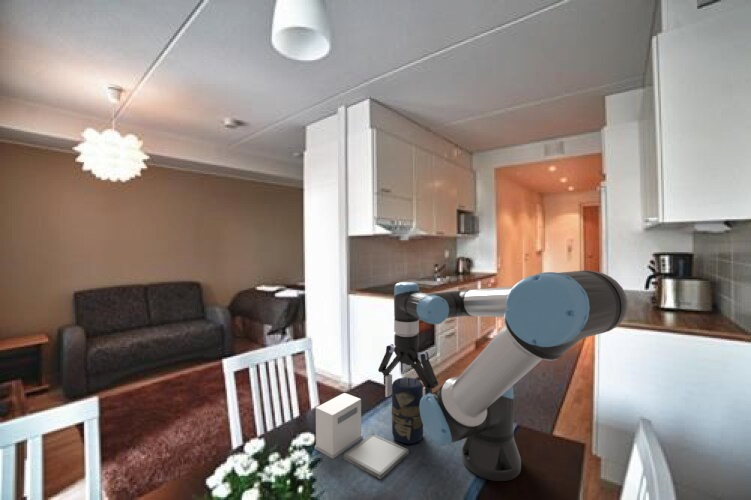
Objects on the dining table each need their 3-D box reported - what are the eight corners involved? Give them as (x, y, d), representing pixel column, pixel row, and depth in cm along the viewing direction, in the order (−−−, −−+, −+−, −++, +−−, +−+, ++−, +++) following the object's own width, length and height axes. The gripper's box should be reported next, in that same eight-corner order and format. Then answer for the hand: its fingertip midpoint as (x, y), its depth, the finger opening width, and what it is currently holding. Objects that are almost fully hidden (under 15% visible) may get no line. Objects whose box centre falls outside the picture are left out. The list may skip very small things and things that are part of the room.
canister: (387, 442, 98) (387, 382, 97) (397, 426, 106) (397, 371, 106) (419, 449, 94) (418, 387, 94) (426, 432, 103) (426, 375, 103)
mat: (408, 453, 92) (408, 449, 92) (380, 479, 82) (380, 475, 82) (372, 436, 100) (372, 433, 100) (343, 458, 90) (343, 454, 90)
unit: (362, 437, 100) (362, 398, 100) (333, 459, 90) (332, 416, 90) (344, 429, 105) (344, 392, 105) (314, 448, 95) (314, 407, 95)
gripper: (449, 337, 95) (449, 409, 96) (381, 324, 111) (381, 386, 111) (437, 344, 89) (437, 420, 90) (367, 329, 105) (367, 394, 105)
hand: (406, 401), depth 100 cm, fingers open, 13 cm apart
